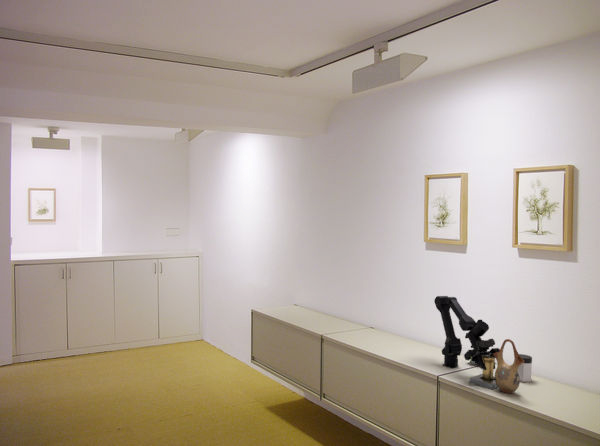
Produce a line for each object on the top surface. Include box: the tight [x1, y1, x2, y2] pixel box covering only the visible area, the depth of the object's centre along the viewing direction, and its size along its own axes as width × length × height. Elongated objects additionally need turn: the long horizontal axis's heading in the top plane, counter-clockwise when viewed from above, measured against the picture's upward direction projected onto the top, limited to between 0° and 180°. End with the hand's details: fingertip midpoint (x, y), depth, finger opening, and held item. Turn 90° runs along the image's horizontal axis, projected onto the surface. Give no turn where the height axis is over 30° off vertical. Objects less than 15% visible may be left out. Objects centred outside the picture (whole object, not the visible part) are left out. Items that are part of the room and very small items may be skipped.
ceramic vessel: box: [493, 338, 524, 394], centre depth 249 cm, size 16×9×25 cm, turn 32°
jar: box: [518, 353, 533, 383], centre depth 269 cm, size 9×8×12 cm
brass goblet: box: [481, 356, 496, 381], centre depth 260 cm, size 6×6×13 cm
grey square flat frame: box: [469, 373, 499, 390], centre depth 260 cm, size 12×12×2 cm
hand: (490, 369), depth 259 cm, fingers closed on brass goblet, 5 cm apart
